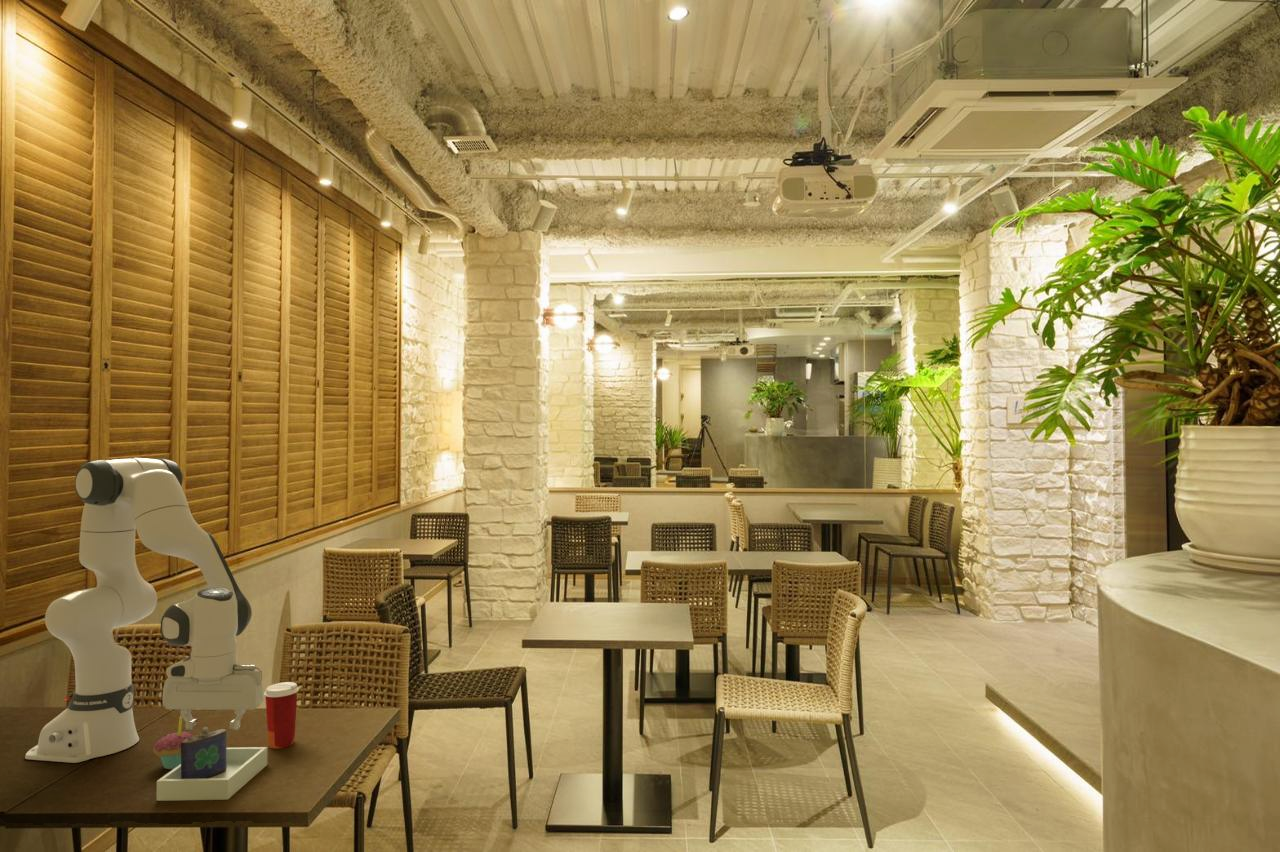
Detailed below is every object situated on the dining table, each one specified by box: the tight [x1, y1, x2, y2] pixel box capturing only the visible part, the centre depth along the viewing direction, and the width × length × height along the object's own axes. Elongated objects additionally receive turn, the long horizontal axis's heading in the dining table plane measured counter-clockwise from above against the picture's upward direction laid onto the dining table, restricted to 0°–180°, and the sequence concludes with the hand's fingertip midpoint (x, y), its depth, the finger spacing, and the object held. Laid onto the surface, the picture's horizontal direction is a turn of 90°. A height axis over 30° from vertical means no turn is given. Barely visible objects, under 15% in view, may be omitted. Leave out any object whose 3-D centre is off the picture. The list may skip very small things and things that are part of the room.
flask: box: [181, 726, 227, 779], centre depth 162 cm, size 9×3×11 cm, turn 145°
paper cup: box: [263, 681, 300, 750], centre depth 182 cm, size 8×8×14 cm
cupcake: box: [152, 715, 195, 770], centre depth 171 cm, size 9×8×12 cm
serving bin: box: [156, 746, 268, 802], centre depth 162 cm, size 15×17×4 cm
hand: (213, 728), depth 162 cm, fingers open, 8 cm apart
